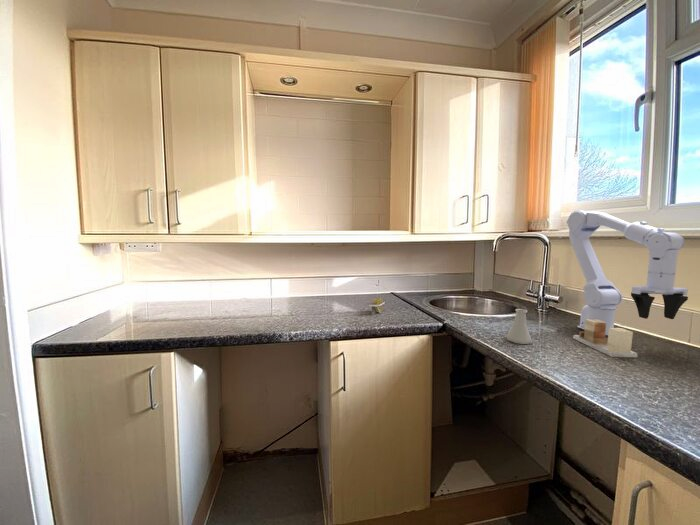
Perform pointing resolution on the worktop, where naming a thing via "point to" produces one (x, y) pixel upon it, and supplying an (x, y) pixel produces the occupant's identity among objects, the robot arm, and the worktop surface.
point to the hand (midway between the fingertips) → (656, 318)
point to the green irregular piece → (377, 305)
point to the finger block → (594, 329)
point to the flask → (519, 329)
